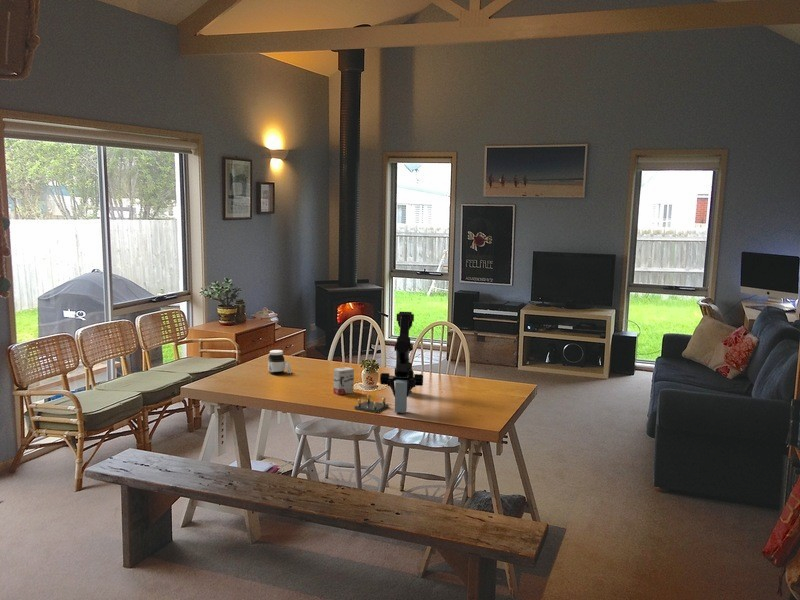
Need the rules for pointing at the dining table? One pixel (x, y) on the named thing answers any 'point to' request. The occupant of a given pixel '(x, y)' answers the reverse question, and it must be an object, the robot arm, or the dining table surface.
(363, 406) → the base plate
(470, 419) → the dining table surface
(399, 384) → the post
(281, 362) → the spread jar
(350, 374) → the ink box
